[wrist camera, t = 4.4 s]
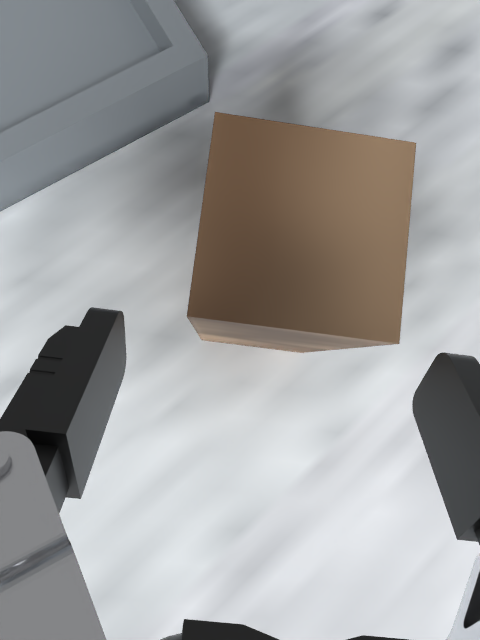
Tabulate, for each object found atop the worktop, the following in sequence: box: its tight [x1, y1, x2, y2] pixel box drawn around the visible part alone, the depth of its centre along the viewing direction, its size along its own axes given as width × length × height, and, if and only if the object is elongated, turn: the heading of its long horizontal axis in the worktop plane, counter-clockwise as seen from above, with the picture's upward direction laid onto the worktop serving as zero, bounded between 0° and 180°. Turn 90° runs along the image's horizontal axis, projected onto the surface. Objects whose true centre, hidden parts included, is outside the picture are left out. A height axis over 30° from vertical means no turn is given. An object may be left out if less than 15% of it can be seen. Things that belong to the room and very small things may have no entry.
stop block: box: [187, 112, 416, 353], centre depth 14 cm, size 4×4×10 cm
